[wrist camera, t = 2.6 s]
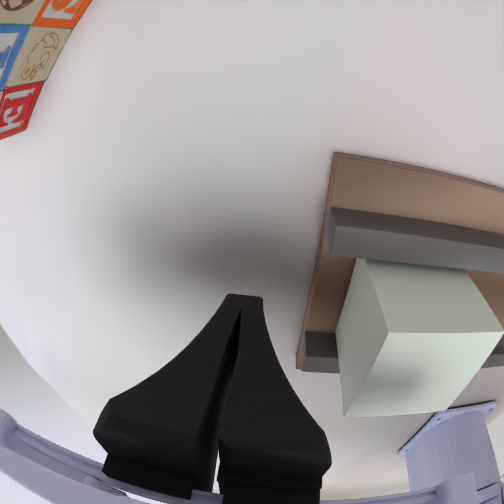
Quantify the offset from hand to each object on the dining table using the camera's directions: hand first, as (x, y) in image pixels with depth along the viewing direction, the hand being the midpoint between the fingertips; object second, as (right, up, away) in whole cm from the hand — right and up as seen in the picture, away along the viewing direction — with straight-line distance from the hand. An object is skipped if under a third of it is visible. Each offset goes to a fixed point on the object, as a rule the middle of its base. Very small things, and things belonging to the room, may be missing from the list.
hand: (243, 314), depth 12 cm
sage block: (+7, 0, +1) cm, 7 cm away
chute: (+14, 0, +2) cm, 14 cm away
